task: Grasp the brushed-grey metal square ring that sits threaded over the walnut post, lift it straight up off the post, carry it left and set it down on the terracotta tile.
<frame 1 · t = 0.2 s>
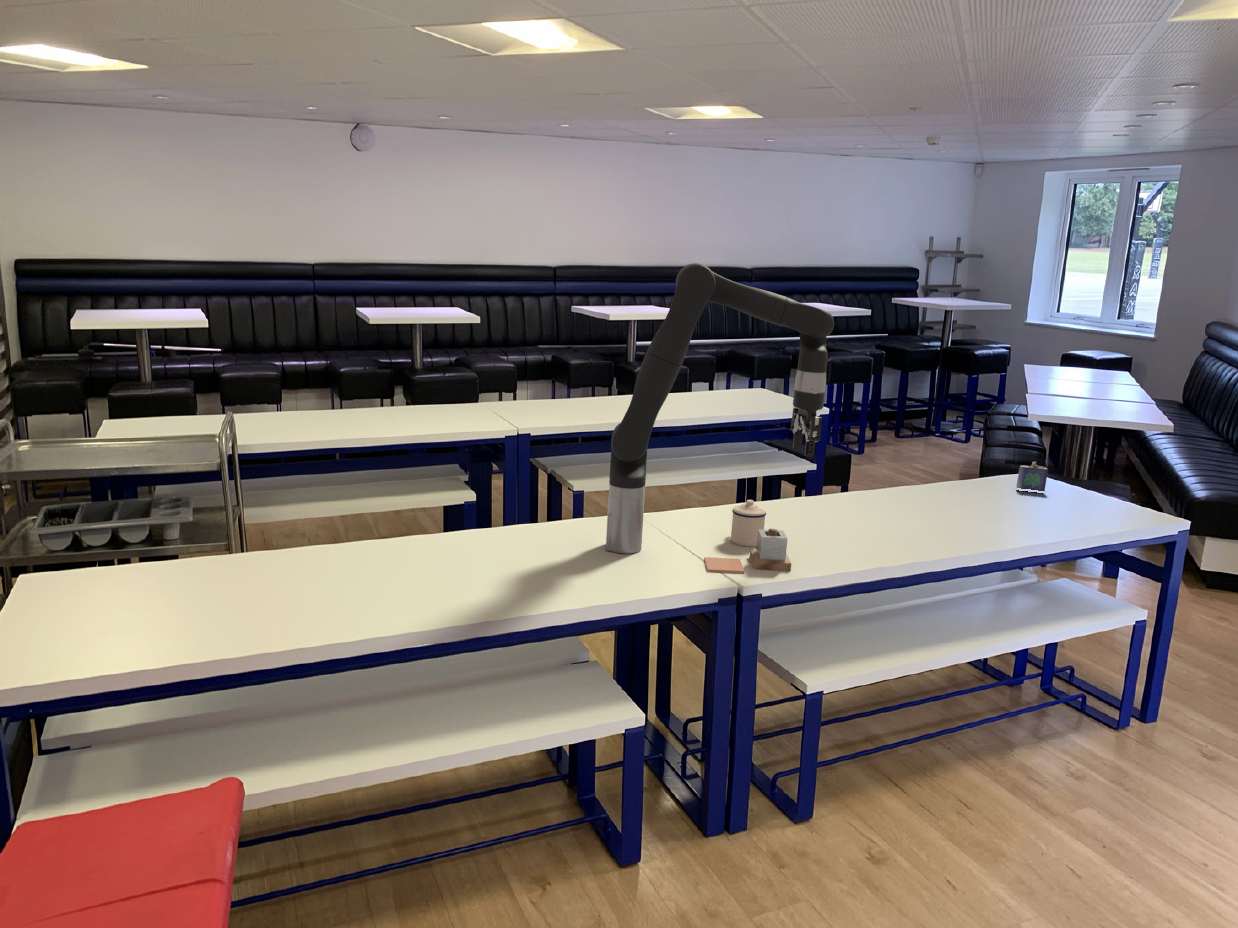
hand: (802, 452, 234), 28 cm above the table, fingers open, 8 cm apart
tile: (723, 566, 231), on the table
post block: (769, 563, 234), on the table
flask: (1029, 492, 323), on the table
beige lidded canister: (744, 540, 252), on the table
ring: (770, 556, 234), point 2 cm above the table, touching post block
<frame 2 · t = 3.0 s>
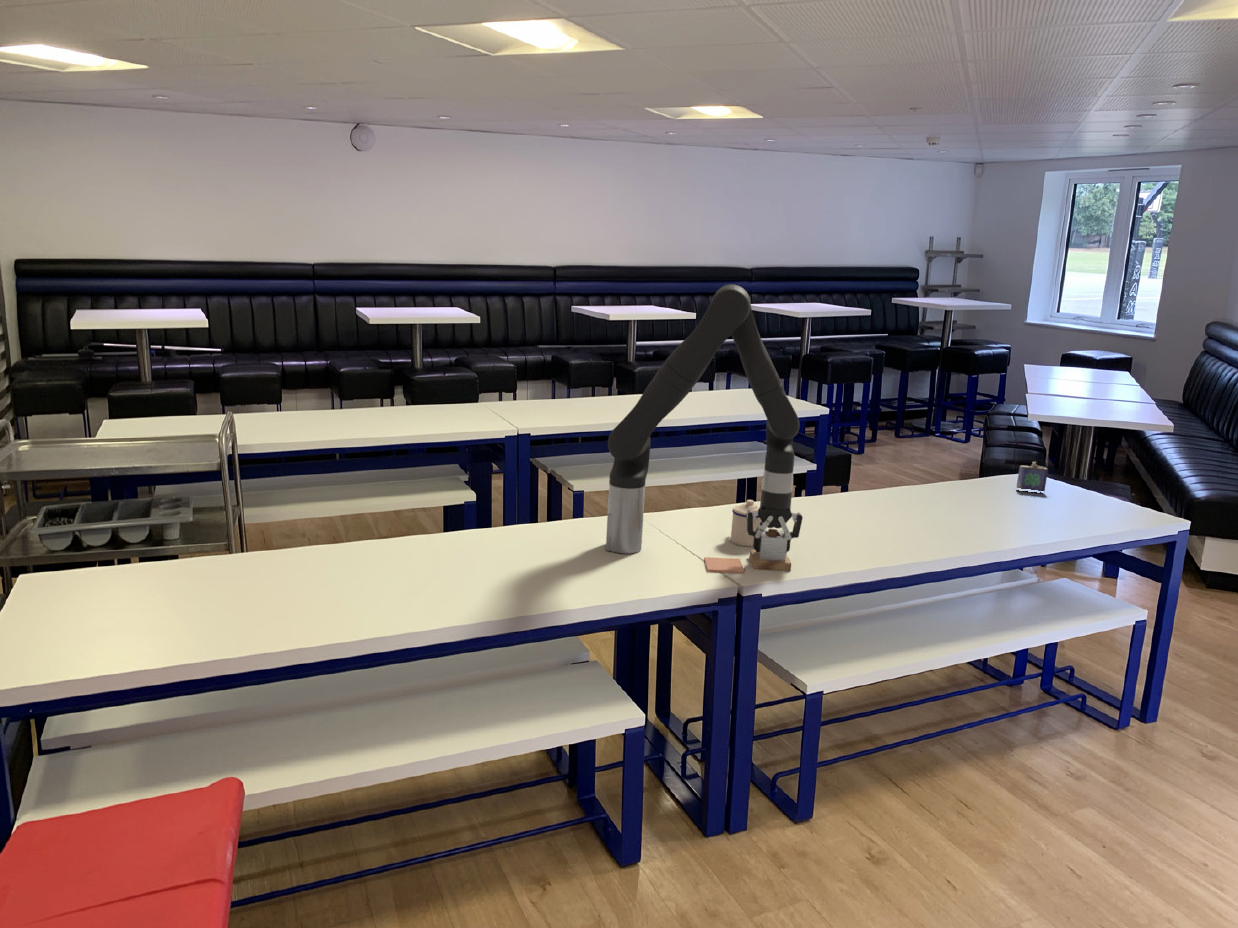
hand: (771, 551, 234), 3 cm above the table, fingers closed on ring, 6 cm apart
ring: (770, 556, 234), point 2 cm above the table, touching gripper, post block
everything else where it was.
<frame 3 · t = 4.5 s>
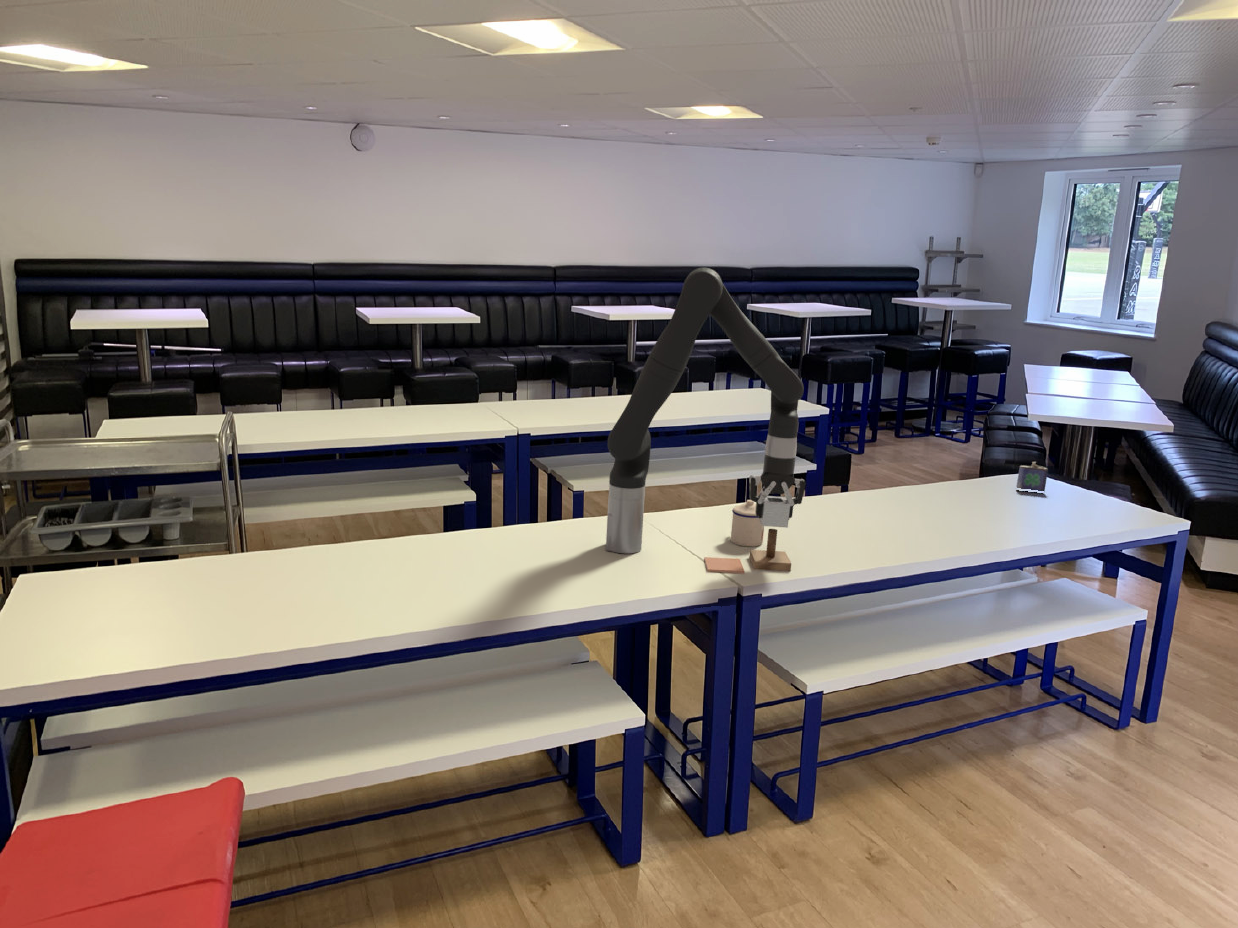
hand: (773, 518, 232), 12 cm above the table, fingers closed on ring, 6 cm apart
ring: (772, 522, 232), point 11 cm above the table, touching gripper
everything else where it was.
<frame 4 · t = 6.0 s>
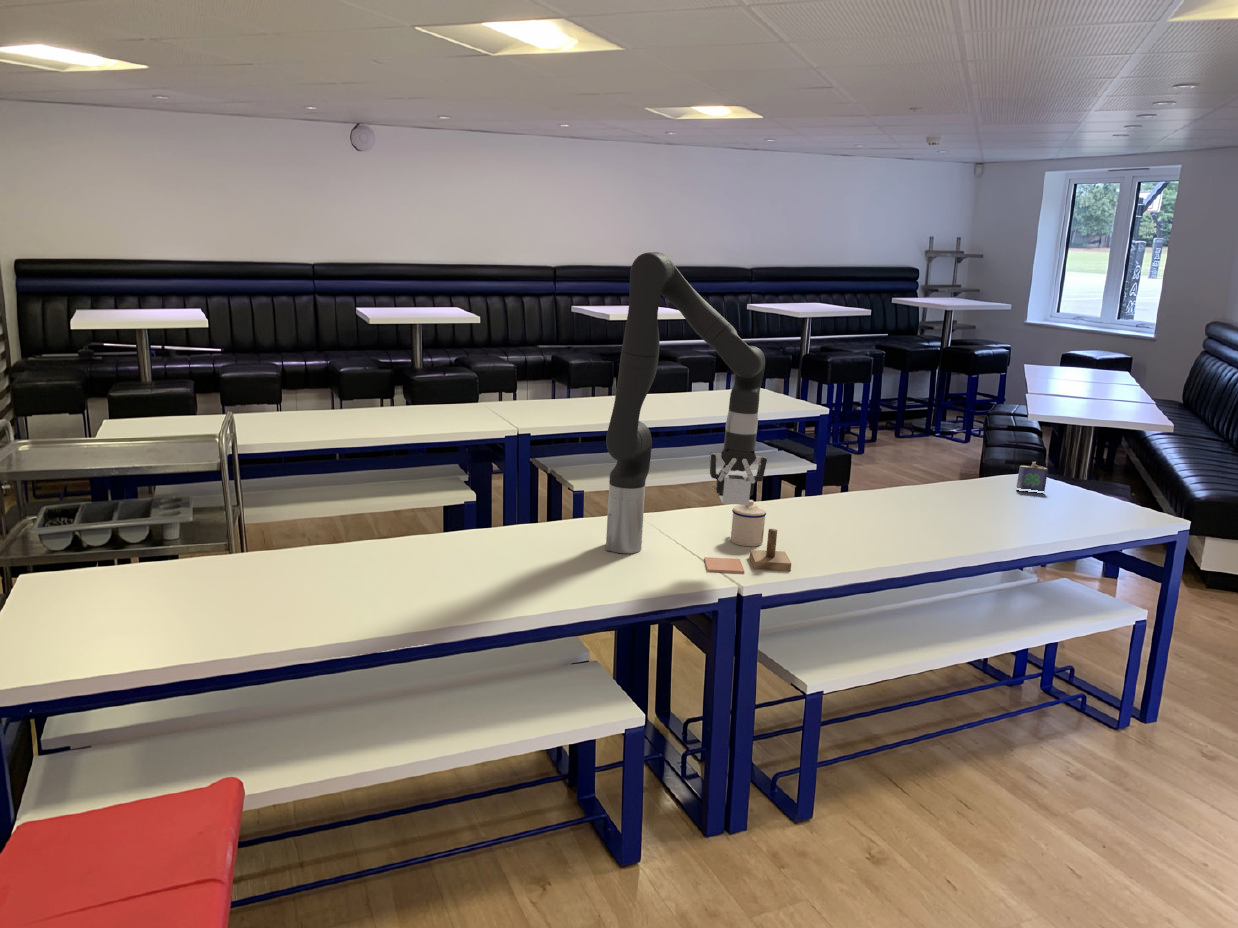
hand: (734, 495, 227), 18 cm above the table, fingers closed on ring, 6 cm apart
ring: (733, 500, 228), point 17 cm above the table, touching gripper
everything else where it was.
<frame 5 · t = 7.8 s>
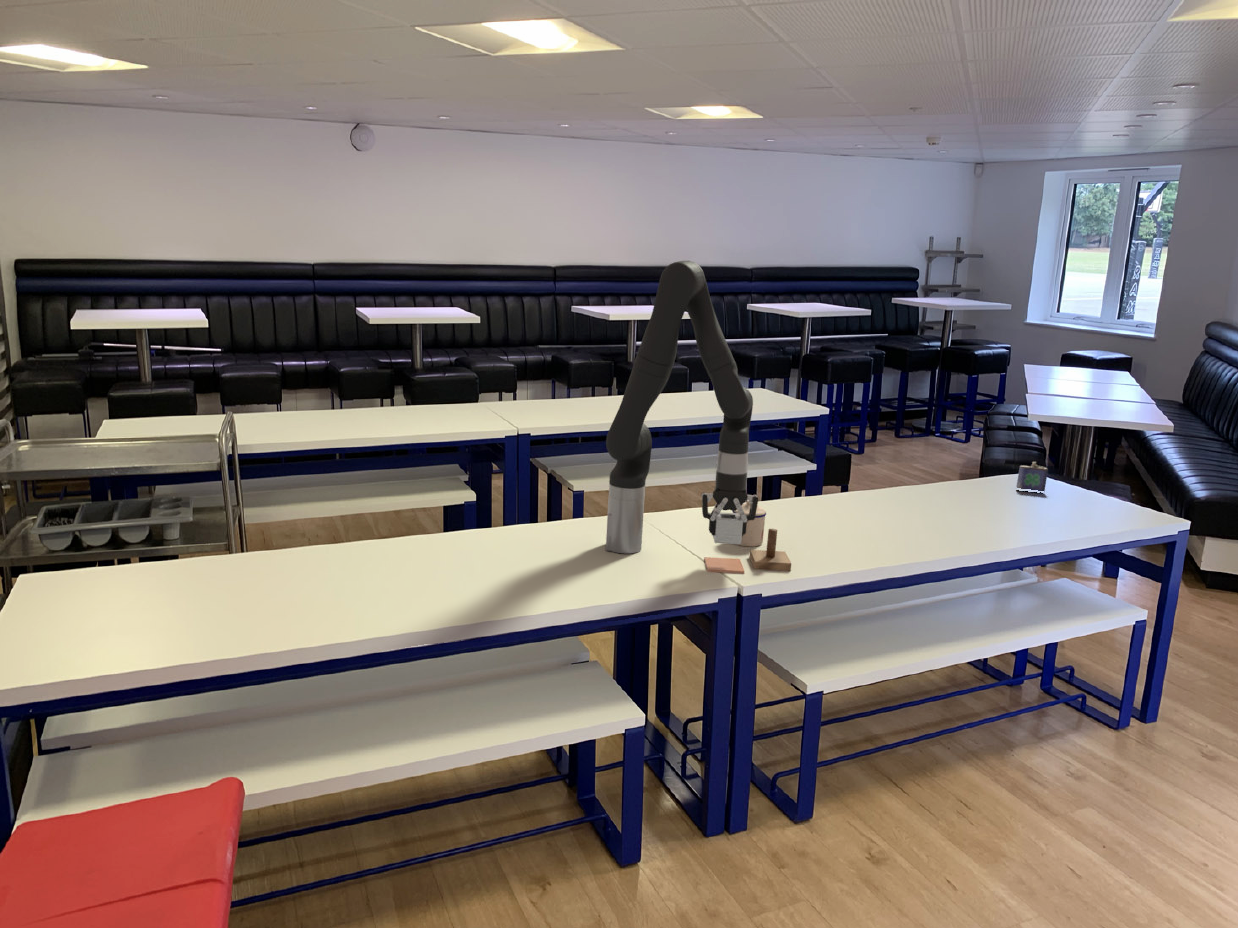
hand: (727, 534, 229), 8 cm above the table, fingers closed on ring, 6 cm apart
ring: (726, 539, 229), point 7 cm above the table, touching gripper
everything else where it was.
when the fingers open (3 cm above the table, at t = 9.2 s): ring drops 1 cm, resting on tile.
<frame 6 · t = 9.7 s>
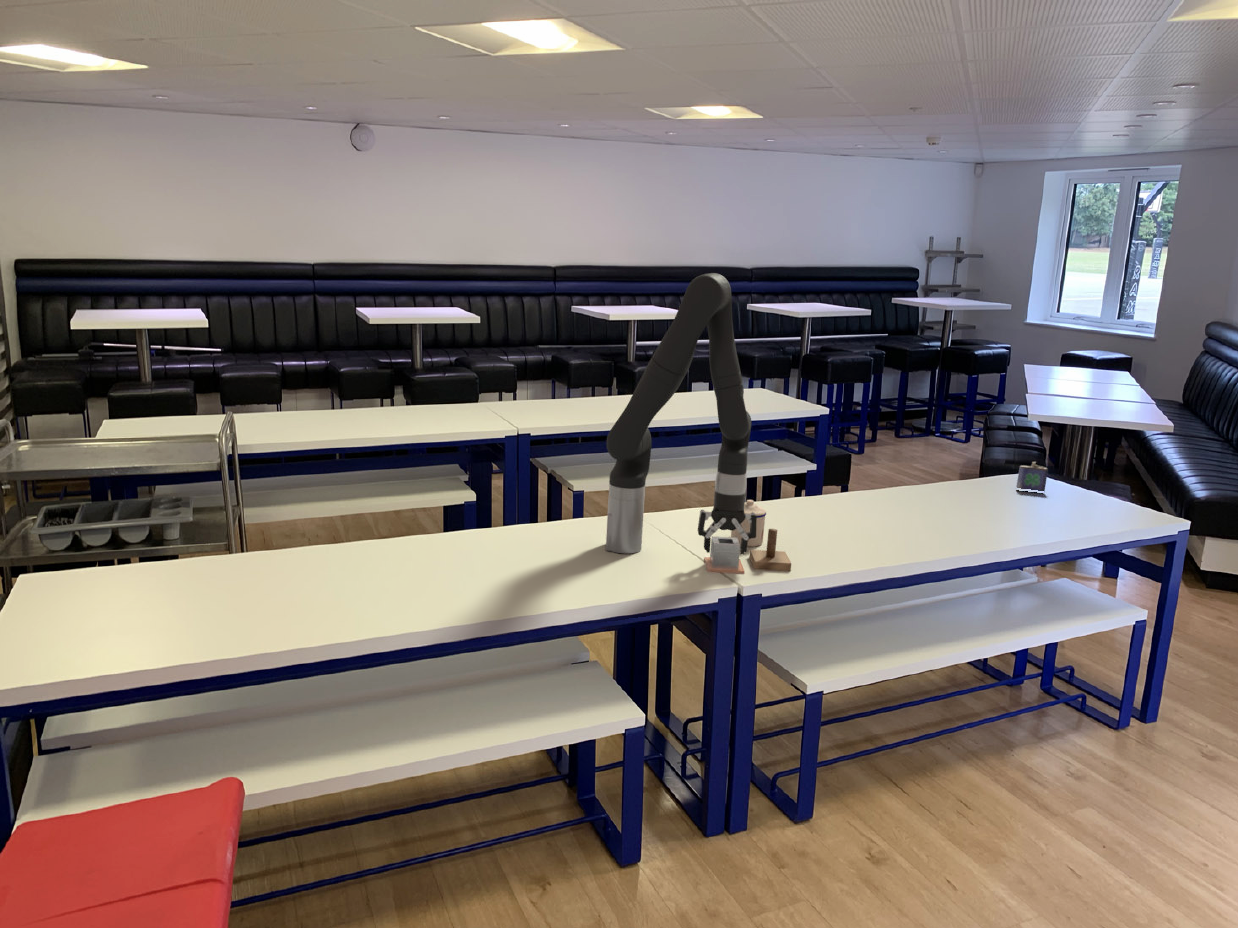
hand: (725, 552, 230), 4 cm above the table, fingers open, 8 cm apart
ring: (723, 563, 231), point 1 cm above the table, touching tile
everything else where it was.
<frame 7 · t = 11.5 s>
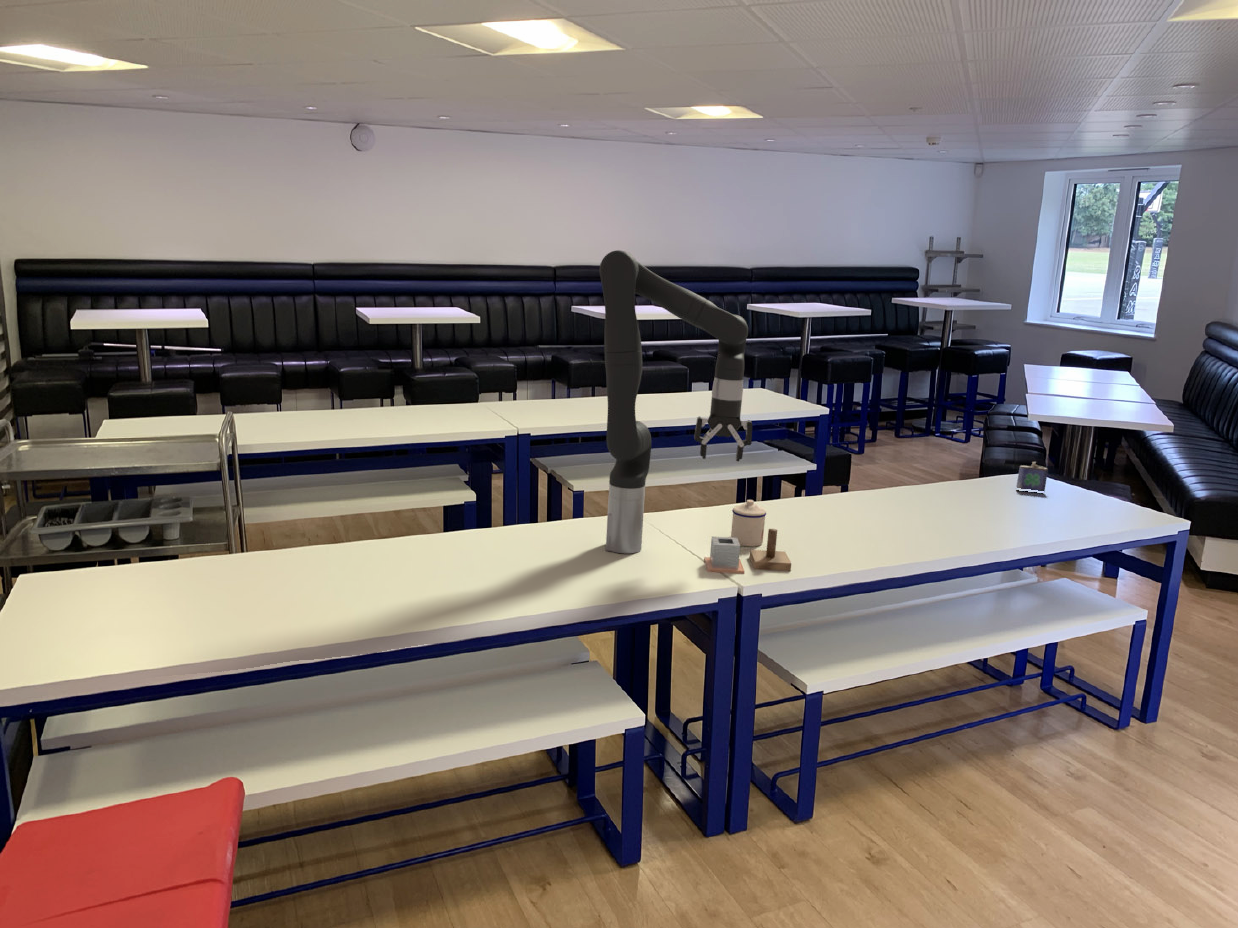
hand: (720, 459, 234), 25 cm above the table, fingers open, 8 cm apart
nothing on the table moved.
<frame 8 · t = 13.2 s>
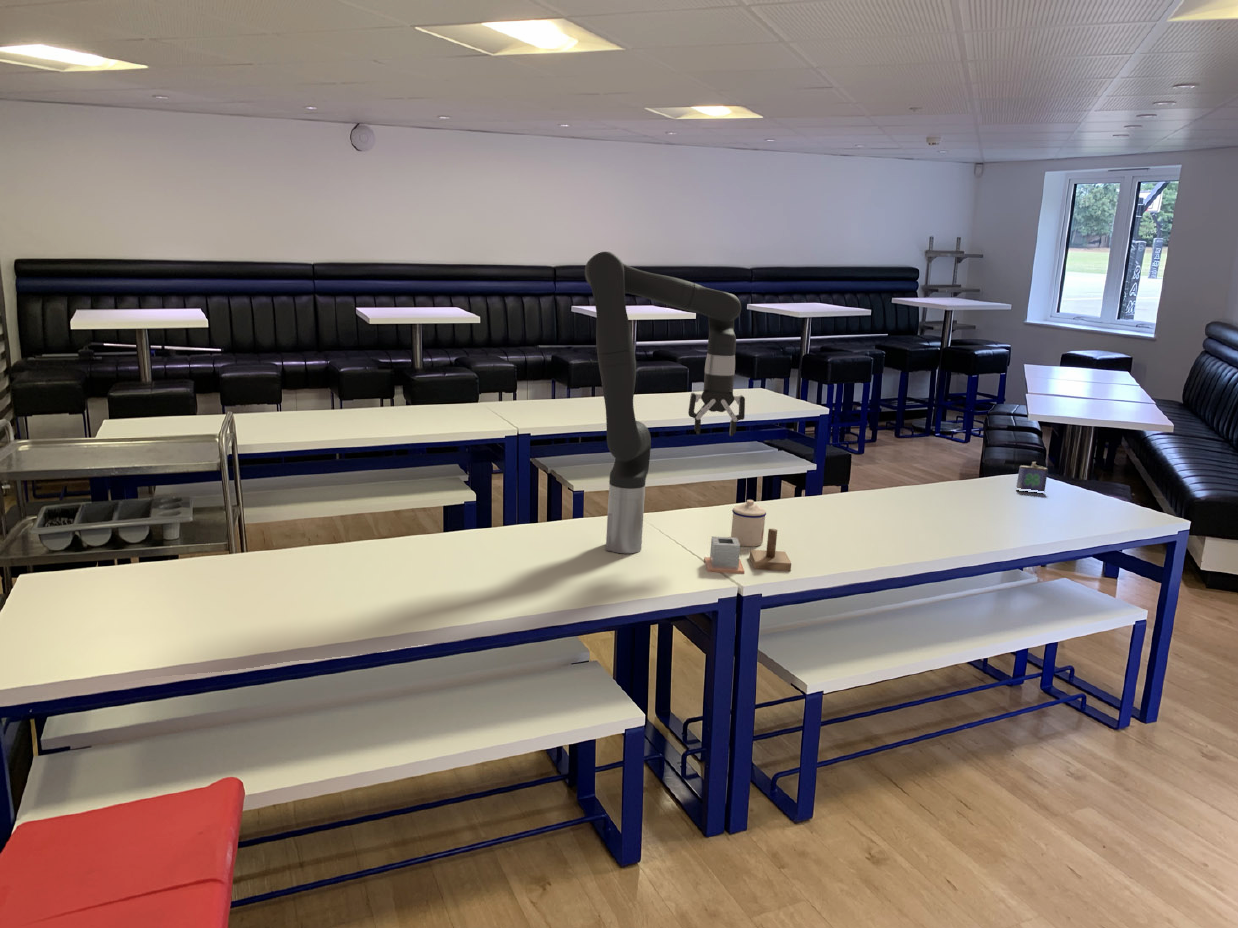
hand: (714, 434, 239), 30 cm above the table, fingers open, 8 cm apart
nothing on the table moved.
at the end: ring inside the target area on the tile (0.1 cm from its centre), point 0.6 cm above the tile's base; ring touching tile; the gripper is holding nothing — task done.
